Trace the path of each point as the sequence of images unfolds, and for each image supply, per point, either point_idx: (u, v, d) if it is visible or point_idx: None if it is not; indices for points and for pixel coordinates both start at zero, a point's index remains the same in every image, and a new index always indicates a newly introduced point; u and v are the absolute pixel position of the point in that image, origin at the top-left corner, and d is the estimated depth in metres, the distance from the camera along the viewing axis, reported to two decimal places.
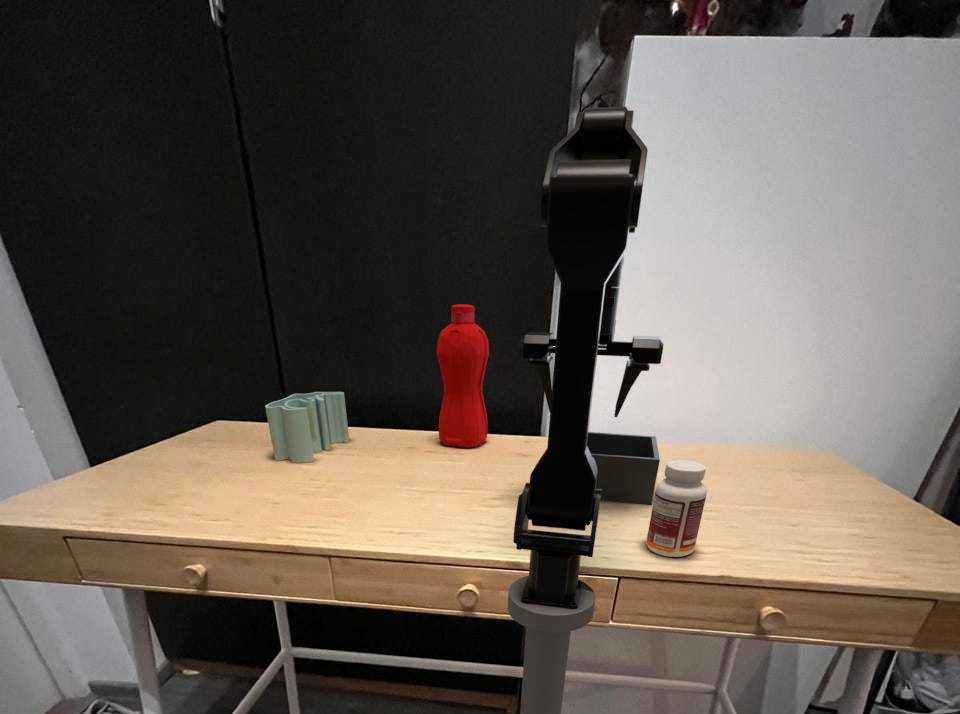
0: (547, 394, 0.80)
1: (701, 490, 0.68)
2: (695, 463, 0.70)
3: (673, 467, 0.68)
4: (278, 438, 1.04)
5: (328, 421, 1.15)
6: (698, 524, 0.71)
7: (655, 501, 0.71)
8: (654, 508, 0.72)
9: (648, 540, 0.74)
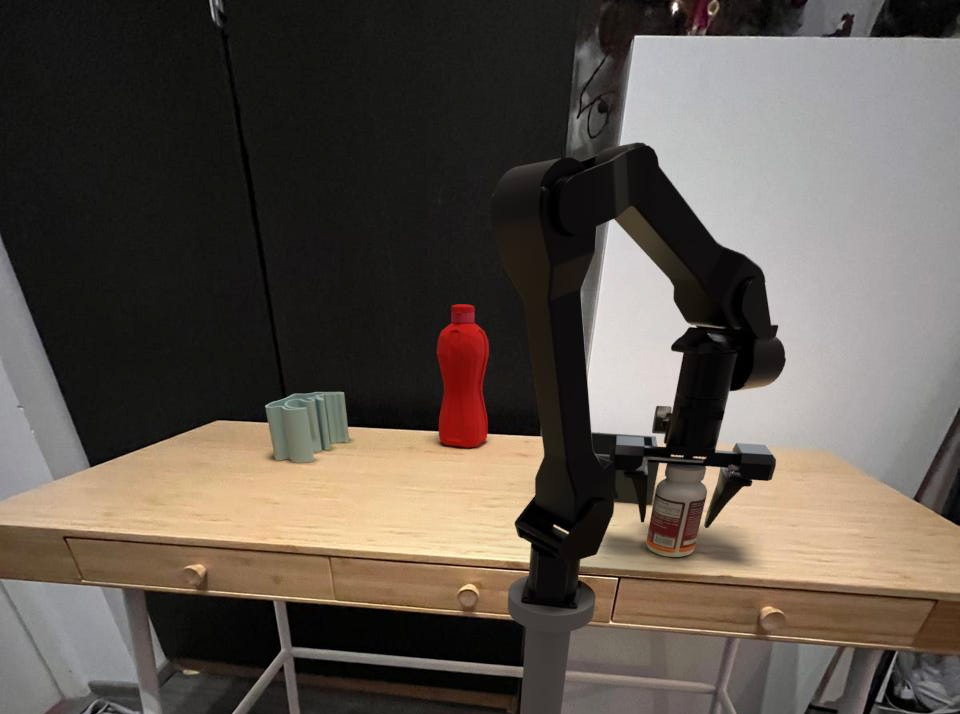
0: (641, 505, 0.71)
1: (702, 491, 0.69)
2: None
3: (673, 467, 0.68)
4: (278, 438, 1.04)
5: (328, 421, 1.15)
6: (698, 524, 0.71)
7: (655, 501, 0.71)
8: (654, 508, 0.72)
9: (648, 540, 0.74)
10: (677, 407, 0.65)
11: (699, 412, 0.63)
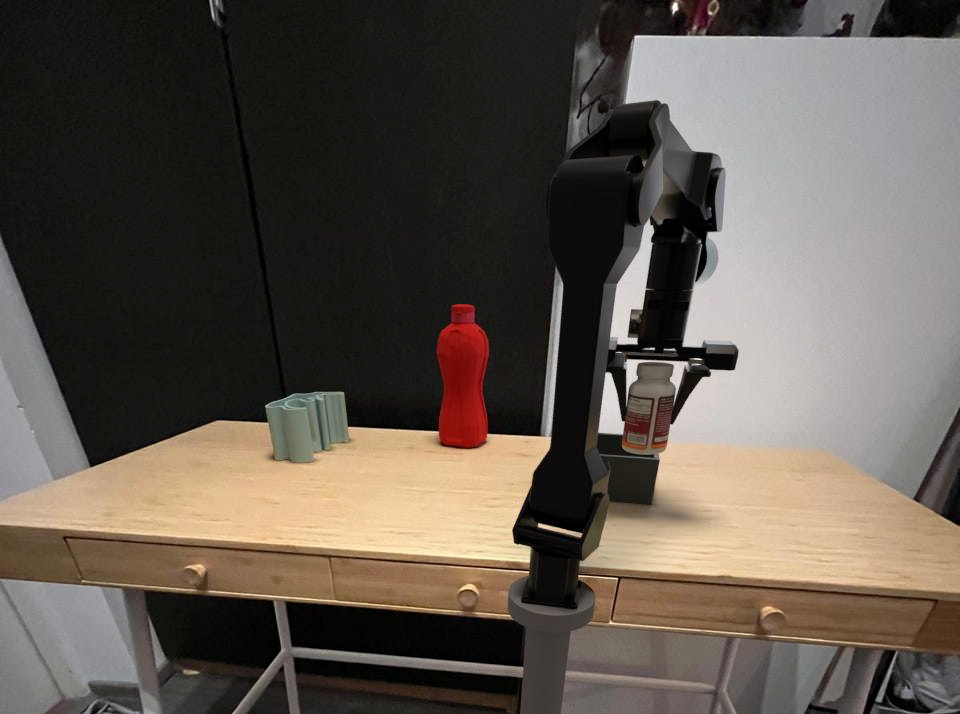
0: (621, 402, 0.76)
1: (670, 387, 0.73)
2: (664, 363, 0.75)
3: (643, 365, 0.73)
4: (278, 438, 1.04)
5: (328, 421, 1.15)
6: (668, 422, 0.76)
7: (628, 401, 0.76)
8: (627, 407, 0.77)
9: (623, 441, 0.79)
10: (646, 301, 0.69)
11: (666, 303, 0.68)
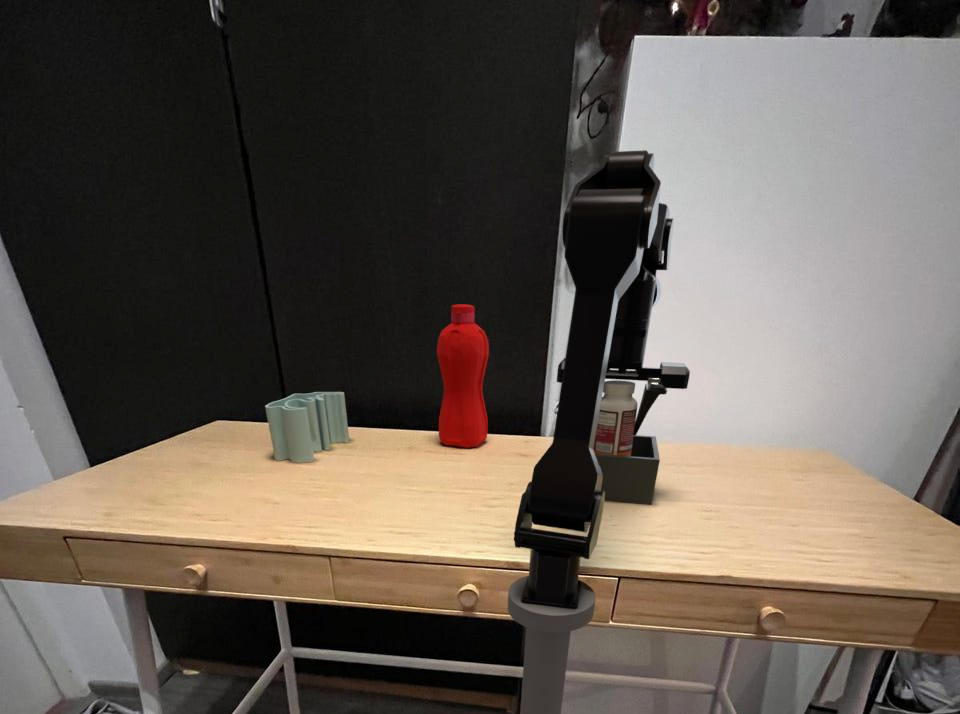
0: None
1: (632, 402, 0.84)
2: (627, 381, 0.85)
3: (608, 383, 0.84)
4: (278, 438, 1.04)
5: (328, 421, 1.15)
6: (631, 433, 0.86)
7: None
8: None
9: None
10: None
11: (626, 331, 0.78)
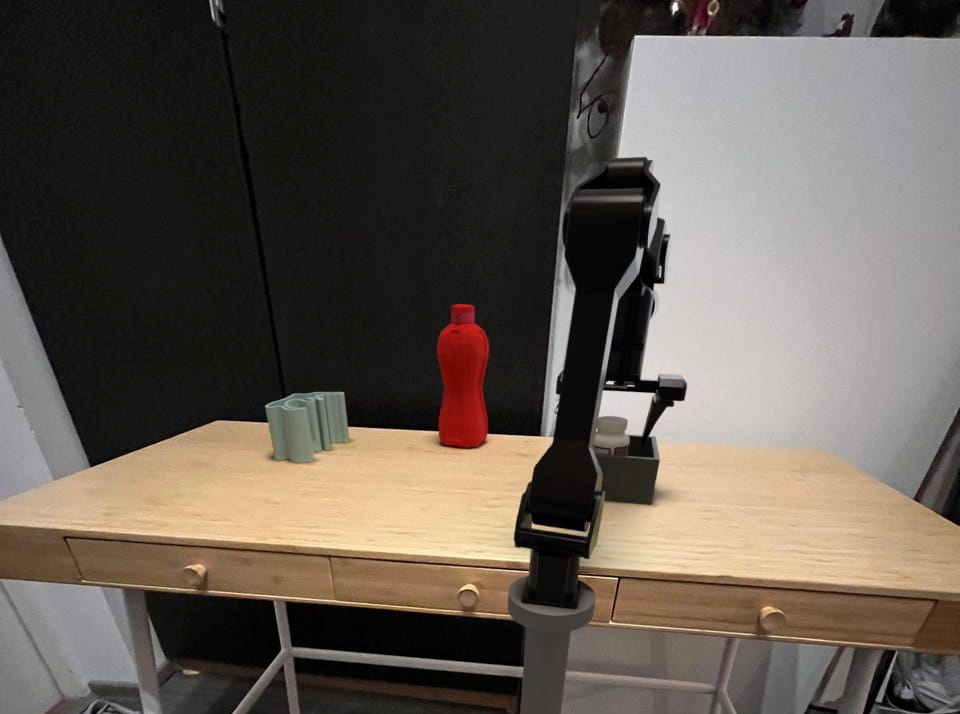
0: None
1: (624, 439, 0.87)
2: (620, 418, 0.88)
3: (601, 420, 0.87)
4: (278, 438, 1.04)
5: (328, 421, 1.15)
6: None
7: None
8: None
9: None
10: None
11: (624, 344, 0.79)
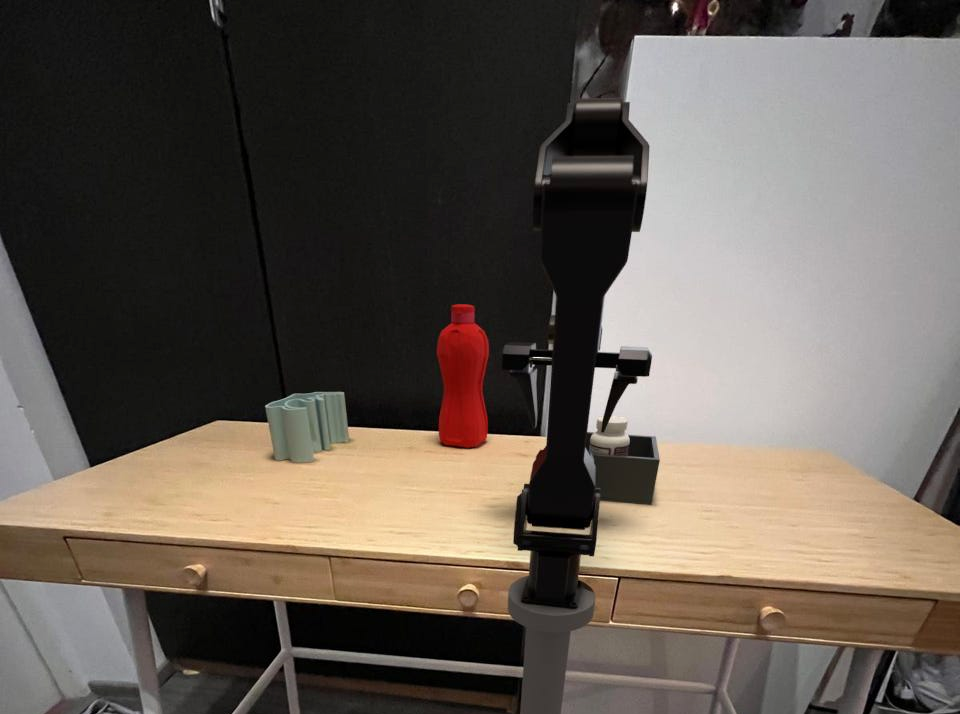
0: (529, 408, 0.75)
1: (624, 439, 0.87)
2: (620, 418, 0.88)
3: (601, 420, 0.87)
4: (278, 438, 1.04)
5: (328, 421, 1.15)
6: None
7: (589, 449, 0.90)
8: None
9: None
10: None
11: None
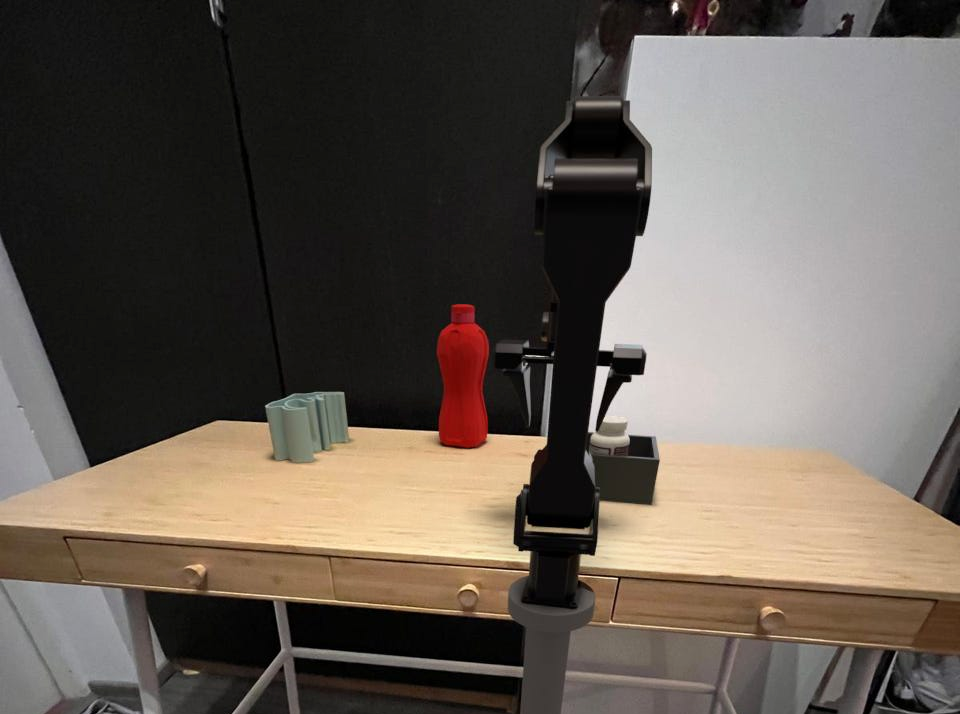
0: (522, 407, 0.74)
1: (624, 439, 0.87)
2: (620, 418, 0.88)
3: None
4: (278, 438, 1.04)
5: (328, 421, 1.15)
6: None
7: (589, 449, 0.90)
8: None
9: None
10: (551, 303, 0.67)
11: None
